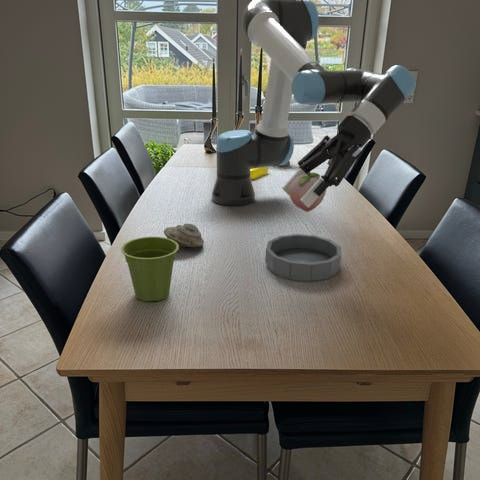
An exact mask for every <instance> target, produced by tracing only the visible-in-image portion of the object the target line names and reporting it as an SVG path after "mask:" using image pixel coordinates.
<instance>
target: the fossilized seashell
mask: <svg viewBox="0 0 480 480" xmlns="http://www.w3.org/2000/svg"><path fill="white" fill-rule="evenodd" d="M163 233H164V235H165V238H169V239H172V240H173V241H175V242H177V243H178V245H179V247H180V246H181V247H186V248H199V247H203V246H204V243H205V241H204V239H203V237H202V233H201V231H200V229H199V228H198V227H197V226H196V225H194V224H193V223H184V224H182V225H181V224H178V225H176V226H170V227H166V228H165V229H164V230H163Z"/></svg>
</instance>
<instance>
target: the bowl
mask: <svg viewBox="0 0 480 480" xmlns="http://www.w3.org/2000/svg"><path fill="white" fill-rule="evenodd" d="M264 261H265V264H266V265H265V266H266V268H267V269H268V270H269V272H271V273H272V274H274V275H276V276H277V277H280V278H283V279H285V280H290V281H294V282H302V283H303V282H304V283H305V282H306V283H311V282H321V281H325V280H329V279H331V278H333V277H335V276H336V275H337V274H338V273H339V272H340V269H341V262H342V247H341V246H340V245H338V244H337V243H336V242H334V241H333V240H331V239H329V238H325V237H321V236H318V235H313V234H304V233H303V234H300V233H295V234H287V235H279V236H276V237H275V238H273V239H270V240H269V241H267V245H266V248H265V258H264Z"/></svg>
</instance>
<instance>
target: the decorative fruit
mask: <svg viewBox="0 0 480 480" xmlns="http://www.w3.org/2000/svg"><path fill="white" fill-rule="evenodd" d="M319 178H321V174H319V173H316V172H311V171H309V173H308V175H301V176H298V177H297V178H295V179H294V180H293V181H292V183H291V185H290V188H289V195H290V196H289V195H288V196H289V198H290V200H291V202H292V203H293V204H294V205H295V206H296V207H297V208H298V209H300V210H302V211H304V212H307V213H309V212H311V211H313V210H314V209H315V208H317V207H318V206H319V205H320V204H321V203H322V202H323V200H324V198H325V196H326V193H327V189H326V190H325V191H324V192H323V193H322V194H321V195H320V196H319V197H318V198H317V199H316V200H315V201H314V203H313V204H312V205H311V206H310V207H309V208H308V207H307V206H306V205H305V204H304V203H303V202H302V201H301V200H300V199H301V198H302V197H303V196H304V195H305V194H306V192H307V191H308V190H309V189H310V188H311V187H312V186H313V185H314V184H315V183H316V181H317V180H318V179H319Z"/></svg>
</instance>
